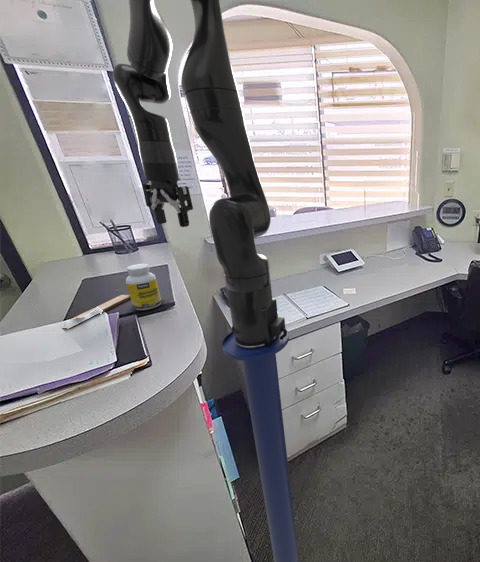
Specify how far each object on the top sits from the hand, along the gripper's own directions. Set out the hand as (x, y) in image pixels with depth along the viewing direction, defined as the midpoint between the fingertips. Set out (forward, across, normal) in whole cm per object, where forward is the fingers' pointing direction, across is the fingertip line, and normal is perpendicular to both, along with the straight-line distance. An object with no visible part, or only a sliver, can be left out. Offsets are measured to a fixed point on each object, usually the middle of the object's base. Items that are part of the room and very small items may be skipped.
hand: (173, 224), depth 84 cm
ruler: (+22, +13, +16) cm, 30 cm away
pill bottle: (+22, +5, +9) cm, 24 cm away
